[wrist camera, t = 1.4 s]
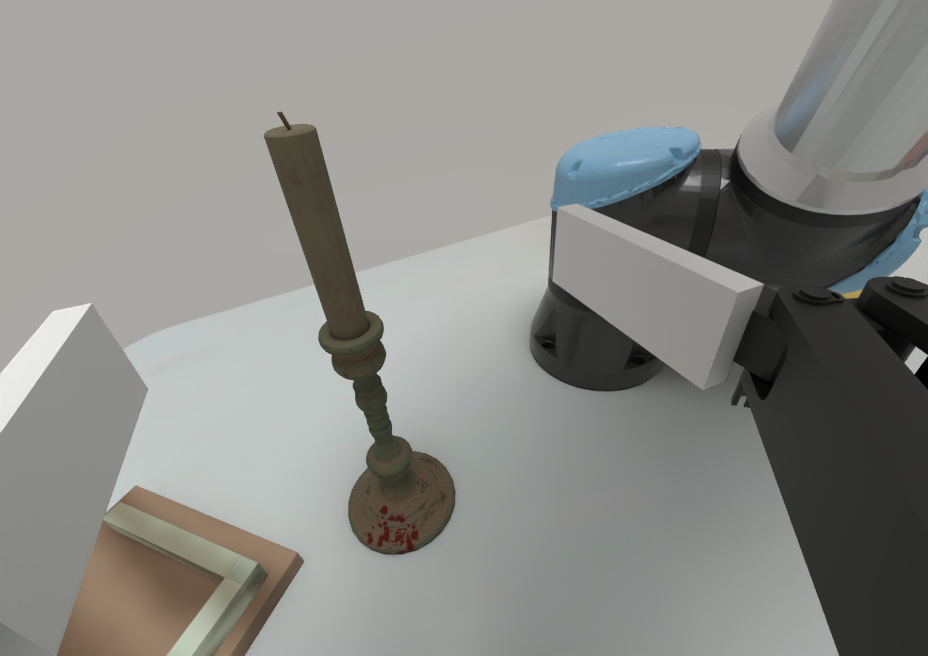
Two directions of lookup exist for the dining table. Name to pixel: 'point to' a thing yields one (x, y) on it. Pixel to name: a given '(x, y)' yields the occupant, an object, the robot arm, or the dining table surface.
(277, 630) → the dining table surface
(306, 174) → the candlestick holder
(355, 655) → the dining table surface
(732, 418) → the dining table surface
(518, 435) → the dining table surface
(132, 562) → the railed board
